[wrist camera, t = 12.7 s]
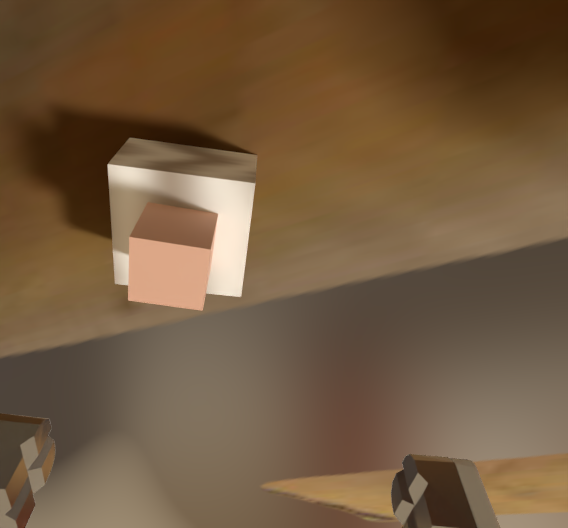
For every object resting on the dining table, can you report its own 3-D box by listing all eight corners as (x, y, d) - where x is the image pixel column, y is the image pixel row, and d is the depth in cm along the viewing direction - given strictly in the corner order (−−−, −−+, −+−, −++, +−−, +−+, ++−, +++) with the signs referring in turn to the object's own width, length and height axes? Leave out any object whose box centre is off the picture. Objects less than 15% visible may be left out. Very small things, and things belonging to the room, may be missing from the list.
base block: (257, 153, 36) (255, 183, 31) (244, 257, 42) (240, 296, 37) (130, 136, 35) (107, 164, 30) (134, 245, 41) (115, 283, 36)
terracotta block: (218, 213, 32) (210, 249, 28) (210, 270, 35) (202, 310, 31) (147, 202, 32) (129, 236, 28) (145, 260, 34) (128, 300, 30)
